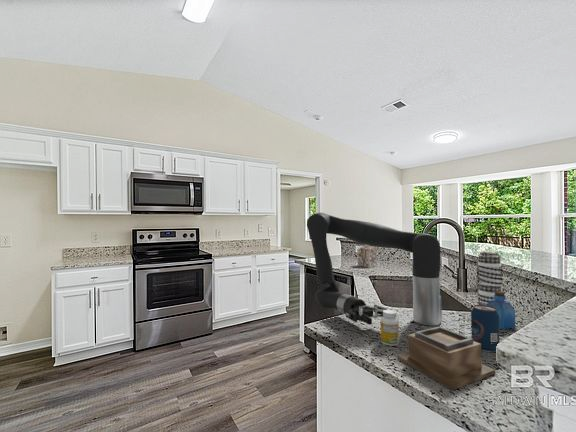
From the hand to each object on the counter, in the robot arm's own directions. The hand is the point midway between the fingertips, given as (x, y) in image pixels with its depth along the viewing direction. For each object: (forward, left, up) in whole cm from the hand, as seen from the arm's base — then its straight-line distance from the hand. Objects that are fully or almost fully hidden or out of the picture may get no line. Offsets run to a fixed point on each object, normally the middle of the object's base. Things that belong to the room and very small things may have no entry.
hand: (381, 319), depth 92 cm
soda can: (-23, +19, -6) cm, 30 cm away
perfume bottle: (-47, +10, -6) cm, 48 cm away
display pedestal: (-2, +21, -6) cm, 22 cm away
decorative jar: (-94, -118, -6) cm, 151 cm away
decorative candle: (-60, -1, -6) cm, 60 cm away
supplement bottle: (0, +4, -6) cm, 7 cm away
